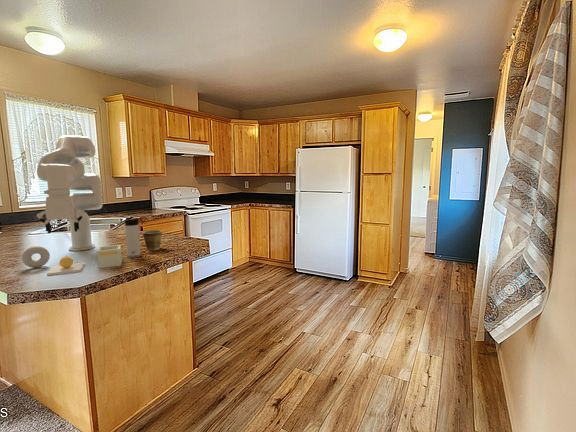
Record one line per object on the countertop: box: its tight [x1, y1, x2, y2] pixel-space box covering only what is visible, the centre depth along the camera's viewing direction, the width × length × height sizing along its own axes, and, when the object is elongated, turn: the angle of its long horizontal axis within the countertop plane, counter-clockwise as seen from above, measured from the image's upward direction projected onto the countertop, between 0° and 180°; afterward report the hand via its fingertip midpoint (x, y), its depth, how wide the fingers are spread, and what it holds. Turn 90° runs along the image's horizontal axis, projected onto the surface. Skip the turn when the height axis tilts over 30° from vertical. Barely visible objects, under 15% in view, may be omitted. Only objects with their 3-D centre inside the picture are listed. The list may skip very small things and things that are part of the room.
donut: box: [21, 245, 51, 269], centre depth 141 cm, size 10×4×10 cm, turn 132°
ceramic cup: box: [142, 229, 163, 251], centre depth 177 cm, size 13×10×10 cm
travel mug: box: [124, 217, 142, 259], centre depth 159 cm, size 6×7×20 cm
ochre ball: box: [58, 256, 74, 268], centre depth 138 cm, size 5×5×5 cm
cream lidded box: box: [96, 244, 123, 269], centre depth 146 cm, size 9×9×8 cm
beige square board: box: [46, 262, 86, 276], centre depth 138 cm, size 12×12×1 cm
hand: (63, 232), depth 136 cm, fingers open, 9 cm apart
